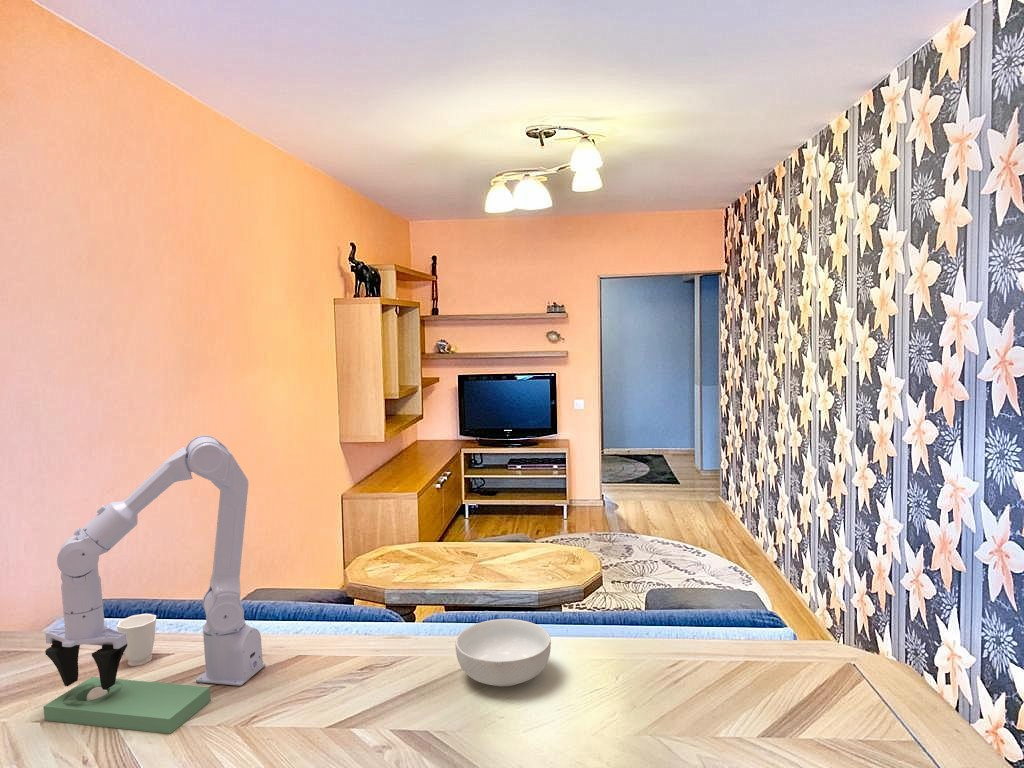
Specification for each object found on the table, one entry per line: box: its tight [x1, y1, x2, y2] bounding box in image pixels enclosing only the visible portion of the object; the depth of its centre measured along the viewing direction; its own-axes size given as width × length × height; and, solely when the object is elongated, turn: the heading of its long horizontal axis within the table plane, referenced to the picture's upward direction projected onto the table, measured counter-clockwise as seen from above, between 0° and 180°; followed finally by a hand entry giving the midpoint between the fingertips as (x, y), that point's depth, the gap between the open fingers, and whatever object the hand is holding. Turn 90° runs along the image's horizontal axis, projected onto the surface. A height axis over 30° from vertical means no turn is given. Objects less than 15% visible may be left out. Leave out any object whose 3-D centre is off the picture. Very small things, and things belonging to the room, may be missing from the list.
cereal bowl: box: [454, 618, 552, 688], centre depth 125 cm, size 17×17×7 cm
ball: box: [86, 687, 108, 701], centre depth 119 cm, size 3×3×3 cm
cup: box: [116, 613, 157, 667], centre depth 137 cm, size 7×10×8 cm
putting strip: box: [43, 676, 212, 735], centre depth 118 cm, size 24×10×2 cm, turn 77°
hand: (89, 685), depth 119 cm, fingers open, 7 cm apart
